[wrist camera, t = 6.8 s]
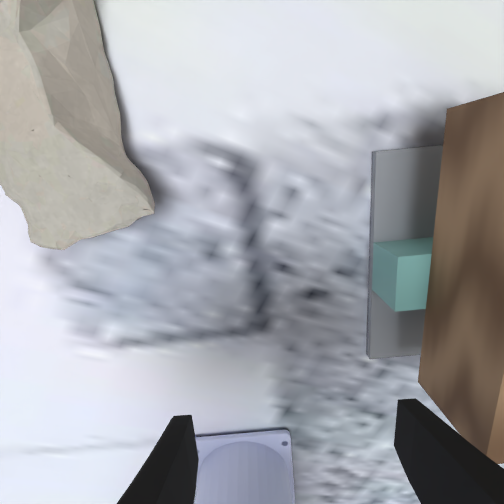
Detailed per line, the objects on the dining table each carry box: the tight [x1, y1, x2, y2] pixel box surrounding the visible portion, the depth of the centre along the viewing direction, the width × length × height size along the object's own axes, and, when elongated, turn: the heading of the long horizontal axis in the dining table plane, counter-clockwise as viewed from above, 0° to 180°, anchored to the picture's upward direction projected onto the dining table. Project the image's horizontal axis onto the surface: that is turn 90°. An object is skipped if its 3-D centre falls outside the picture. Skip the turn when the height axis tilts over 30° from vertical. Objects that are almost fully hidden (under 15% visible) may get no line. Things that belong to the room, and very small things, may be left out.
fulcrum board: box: [367, 145, 443, 359], centre depth 17 cm, size 14×8×4 cm, turn 5°
